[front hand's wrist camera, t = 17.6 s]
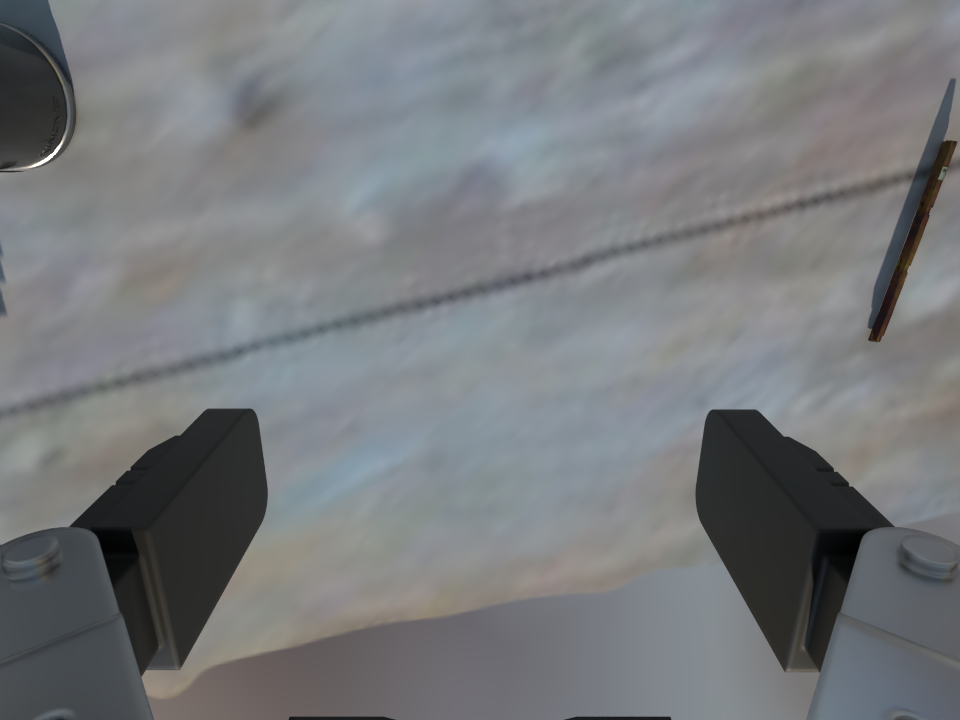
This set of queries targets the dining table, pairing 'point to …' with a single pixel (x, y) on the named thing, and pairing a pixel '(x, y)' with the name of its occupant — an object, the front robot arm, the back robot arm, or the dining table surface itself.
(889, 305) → the brown thin stick
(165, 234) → the dining table surface
